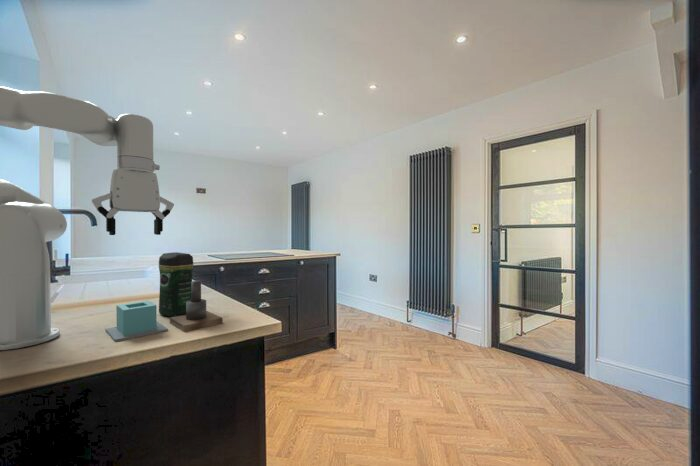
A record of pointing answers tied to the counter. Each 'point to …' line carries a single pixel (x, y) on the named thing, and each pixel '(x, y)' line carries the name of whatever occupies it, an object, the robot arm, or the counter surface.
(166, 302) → the coffee jar
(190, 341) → the counter surface
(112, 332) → the mat
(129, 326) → the teal boxy piece
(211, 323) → the peg stand
